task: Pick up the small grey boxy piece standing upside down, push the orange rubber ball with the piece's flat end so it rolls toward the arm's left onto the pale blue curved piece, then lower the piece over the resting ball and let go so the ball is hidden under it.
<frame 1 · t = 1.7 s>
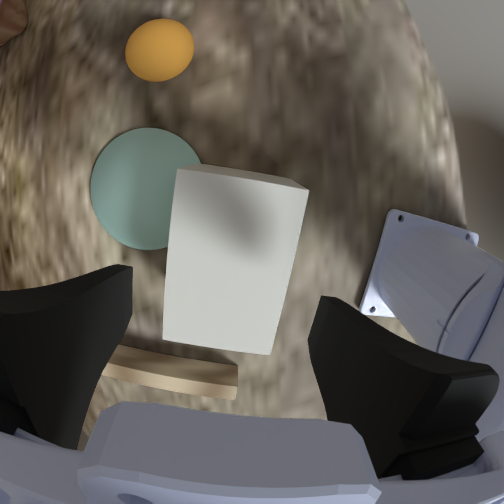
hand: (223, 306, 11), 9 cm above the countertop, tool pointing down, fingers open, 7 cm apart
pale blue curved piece: (145, 189, 18), on the countertop
grey boxy piece: (231, 237, 20), on the countertop
cupcake: (12, 23, 13), on the countertop
ball: (159, 49, 14), on the countertop
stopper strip: (139, 356, 23), on the countertop
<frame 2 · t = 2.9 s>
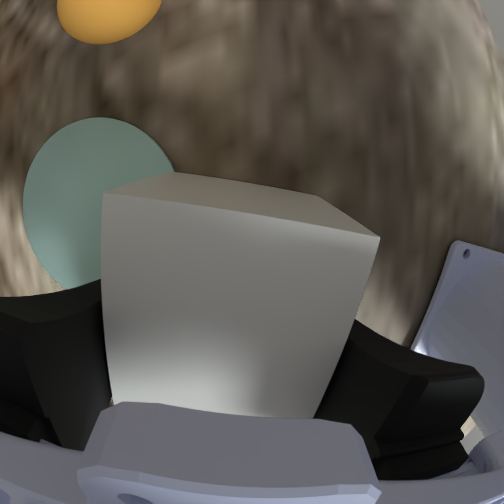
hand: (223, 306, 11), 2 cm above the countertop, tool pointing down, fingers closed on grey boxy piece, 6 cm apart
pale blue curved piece: (93, 213, 11), on the countertop
grey boxy piece: (225, 287, 13), on the countertop, touching gripper
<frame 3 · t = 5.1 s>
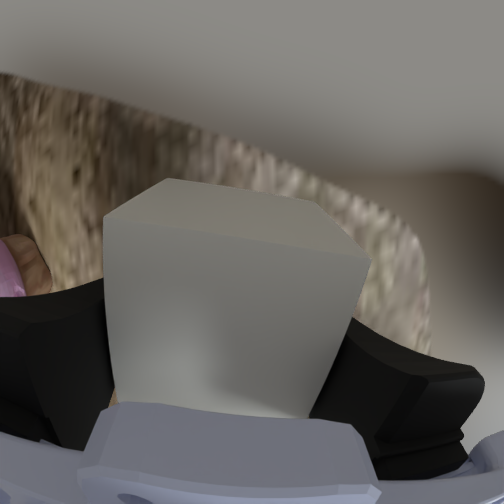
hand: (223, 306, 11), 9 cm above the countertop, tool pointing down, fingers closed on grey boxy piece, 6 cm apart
grey boxy piece: (224, 290, 13), point 7 cm above the countertop, touching gripper
cupcake: (30, 261, 20), on the countertop
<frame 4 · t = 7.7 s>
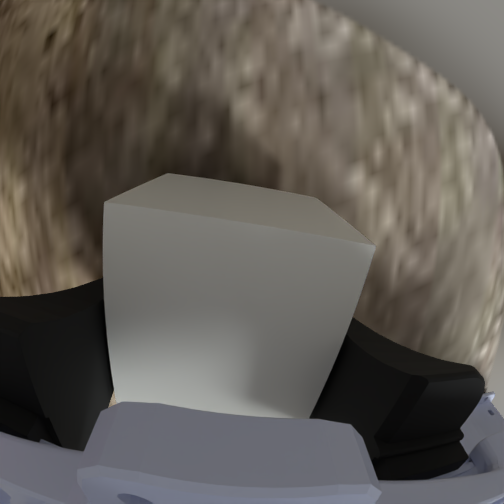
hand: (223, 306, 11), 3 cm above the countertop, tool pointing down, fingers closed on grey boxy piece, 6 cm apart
grey boxy piece: (225, 287, 13), point 1 cm above the countertop, touching gripper
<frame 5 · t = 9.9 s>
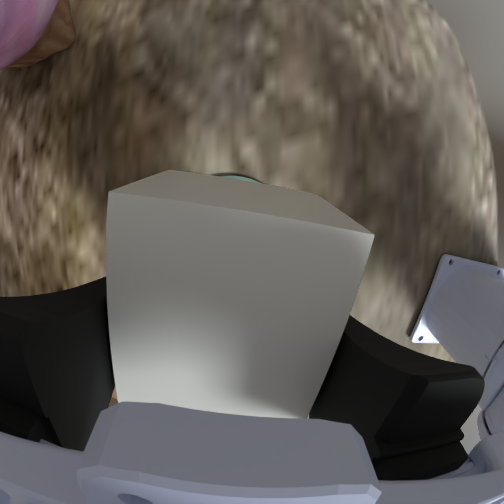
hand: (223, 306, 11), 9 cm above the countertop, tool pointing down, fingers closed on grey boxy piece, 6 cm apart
grey boxy piece: (225, 283, 13), point 7 cm above the countertop, touching gripper
cupcake: (53, 33, 14), on the countertop
when the fingers open (2 cm above the countertop, at t = 12.0 s): grey boxy piece stays where it is, on the countertop.
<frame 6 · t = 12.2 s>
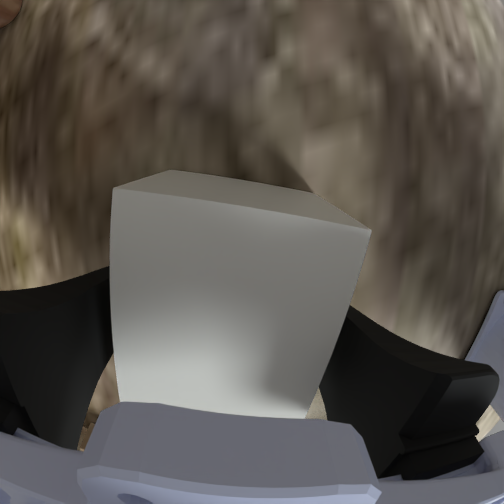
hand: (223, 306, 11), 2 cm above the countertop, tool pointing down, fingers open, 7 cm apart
grey boxy piece: (226, 282, 13), on the countertop
cupcake: (0, 9, 8), on the countertop
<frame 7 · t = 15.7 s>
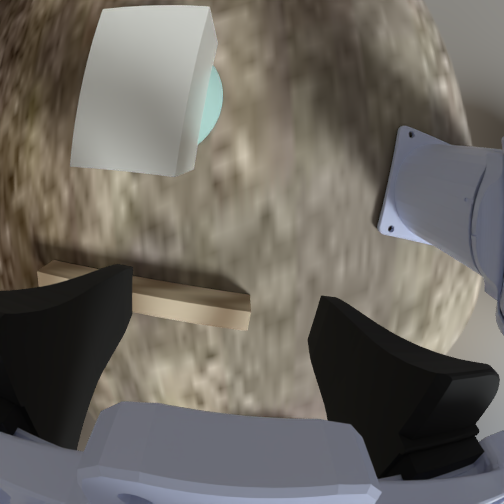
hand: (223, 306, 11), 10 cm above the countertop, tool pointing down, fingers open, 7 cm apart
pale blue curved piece: (161, 99, 17), on the countertop
grey boxy piece: (162, 99, 17), on the countertop
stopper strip: (141, 286, 22), on the countertop
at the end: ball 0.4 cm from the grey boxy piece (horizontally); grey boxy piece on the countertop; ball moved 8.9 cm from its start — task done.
